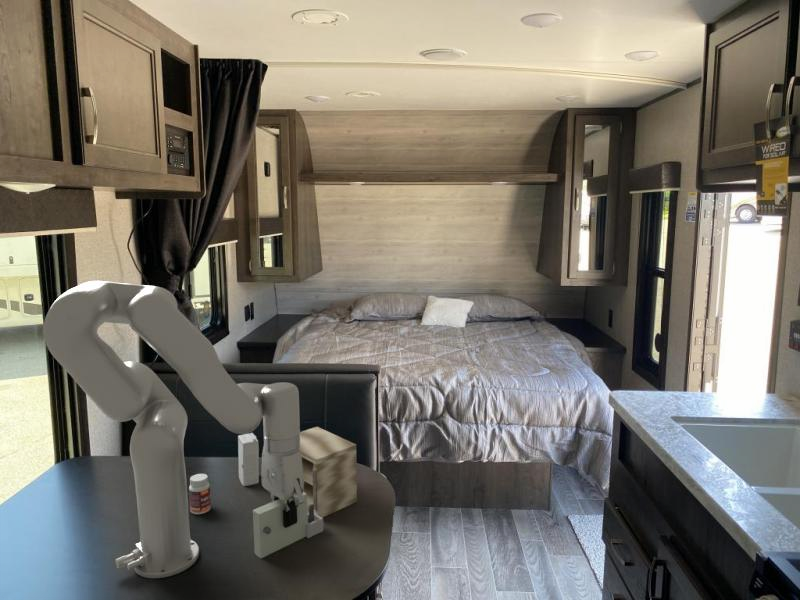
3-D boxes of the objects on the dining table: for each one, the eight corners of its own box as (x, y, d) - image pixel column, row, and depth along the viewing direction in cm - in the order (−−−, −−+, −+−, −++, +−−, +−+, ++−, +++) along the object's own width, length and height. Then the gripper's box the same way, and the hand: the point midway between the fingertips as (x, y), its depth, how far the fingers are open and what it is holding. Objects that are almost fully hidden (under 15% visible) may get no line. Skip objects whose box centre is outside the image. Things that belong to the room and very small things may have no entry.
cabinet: (311, 532, 129) (309, 469, 126) (265, 501, 142) (263, 444, 140) (365, 506, 140) (364, 448, 137) (318, 479, 153) (317, 426, 151)
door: (263, 560, 119) (261, 516, 117) (252, 551, 122) (250, 508, 120) (323, 530, 129) (322, 489, 128) (312, 523, 132) (311, 483, 131)
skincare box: (238, 477, 154) (236, 435, 152) (254, 473, 157) (253, 432, 155) (243, 487, 149) (241, 443, 147) (260, 483, 151) (258, 440, 149)
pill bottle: (204, 515, 135) (202, 482, 134) (186, 513, 136) (184, 481, 135) (214, 505, 140) (213, 473, 139) (197, 503, 141) (195, 471, 140)
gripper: (246, 435, 124) (249, 513, 127) (289, 459, 113) (292, 544, 116) (276, 426, 129) (278, 501, 132) (320, 448, 118) (321, 529, 121)
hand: (285, 520), depth 124 cm, fingers open, 3 cm apart
